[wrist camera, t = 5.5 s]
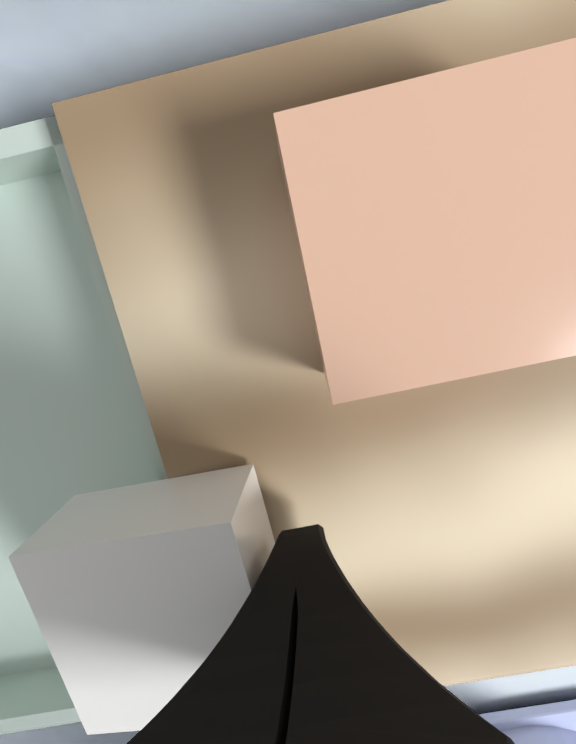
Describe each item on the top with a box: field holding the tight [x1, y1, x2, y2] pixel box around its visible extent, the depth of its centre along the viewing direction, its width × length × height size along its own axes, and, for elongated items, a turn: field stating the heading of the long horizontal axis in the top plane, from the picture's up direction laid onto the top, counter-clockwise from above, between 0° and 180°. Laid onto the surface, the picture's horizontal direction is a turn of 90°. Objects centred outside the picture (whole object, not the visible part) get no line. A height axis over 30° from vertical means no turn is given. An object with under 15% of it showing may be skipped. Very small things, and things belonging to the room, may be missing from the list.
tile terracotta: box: [273, 38, 576, 405], centre depth 9 cm, size 5×5×2 cm
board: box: [51, 0, 576, 686], centre depth 12 cm, size 17×12×3 cm
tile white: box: [8, 464, 275, 735], centre depth 11 cm, size 5×5×2 cm
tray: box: [0, 115, 168, 735], centre depth 13 cm, size 17×11×2 cm, turn 12°
